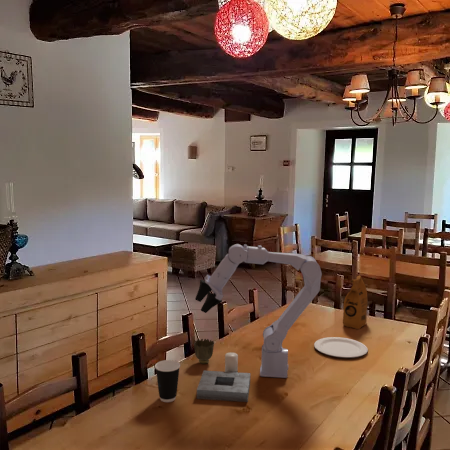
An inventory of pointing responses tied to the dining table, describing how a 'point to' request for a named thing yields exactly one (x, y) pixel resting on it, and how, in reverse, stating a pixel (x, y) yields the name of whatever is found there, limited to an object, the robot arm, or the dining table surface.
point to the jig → (224, 386)
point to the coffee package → (355, 305)
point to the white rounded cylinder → (231, 362)
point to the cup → (203, 350)
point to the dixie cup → (167, 379)
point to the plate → (341, 347)
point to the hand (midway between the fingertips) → (200, 305)
